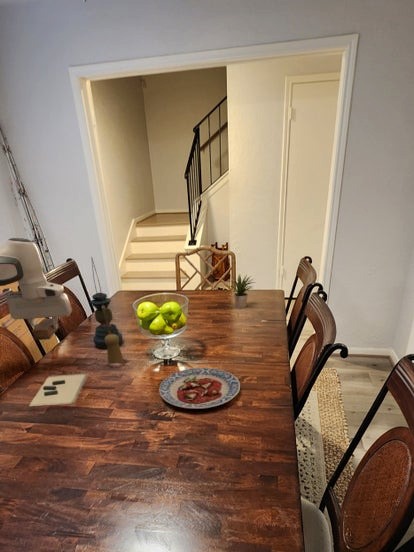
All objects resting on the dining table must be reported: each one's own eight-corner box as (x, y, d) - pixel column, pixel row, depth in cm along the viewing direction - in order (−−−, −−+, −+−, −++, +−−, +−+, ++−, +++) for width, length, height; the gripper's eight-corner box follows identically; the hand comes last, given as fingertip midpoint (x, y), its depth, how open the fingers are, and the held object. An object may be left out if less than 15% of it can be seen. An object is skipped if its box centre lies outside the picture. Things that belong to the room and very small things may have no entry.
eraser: (34, 340, 127) (31, 330, 125) (45, 327, 137) (43, 318, 136) (49, 339, 127) (46, 329, 125) (59, 327, 138) (56, 317, 136)
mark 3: (52, 385, 125) (52, 383, 124) (53, 383, 126) (52, 381, 125) (65, 383, 125) (64, 381, 125) (65, 382, 126) (64, 379, 126)
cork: (116, 358, 144) (111, 331, 138) (127, 361, 141) (122, 334, 135) (104, 363, 140) (99, 336, 134) (115, 367, 137) (110, 339, 131)
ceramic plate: (249, 408, 110) (249, 399, 108) (162, 419, 107) (161, 410, 105) (230, 369, 131) (230, 362, 130) (157, 378, 128) (156, 370, 127)
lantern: (127, 346, 153) (112, 257, 135) (98, 353, 149) (79, 262, 131) (118, 335, 164) (103, 252, 146) (91, 341, 160) (72, 256, 142)
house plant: (246, 313, 183) (246, 279, 174) (222, 309, 189) (221, 276, 181) (258, 305, 193) (260, 272, 184) (235, 301, 199) (235, 270, 191)
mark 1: (43, 390, 122) (42, 387, 122) (45, 388, 123) (44, 385, 123) (54, 390, 122) (54, 387, 121) (56, 388, 123) (55, 386, 122)
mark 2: (44, 396, 119) (43, 393, 118) (45, 394, 120) (44, 392, 119) (57, 394, 119) (56, 391, 119) (58, 392, 120) (57, 390, 120)
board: (29, 409, 115) (28, 406, 114) (49, 378, 132) (48, 375, 131) (75, 406, 115) (74, 403, 114) (89, 376, 132) (88, 373, 131)
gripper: (-1, 294, 121) (13, 334, 128) (62, 290, 122) (72, 330, 129) (7, 289, 127) (20, 327, 134) (67, 285, 127) (77, 324, 134)
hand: (46, 329), depth 131 cm, fingers closed on eraser, 5 cm apart
